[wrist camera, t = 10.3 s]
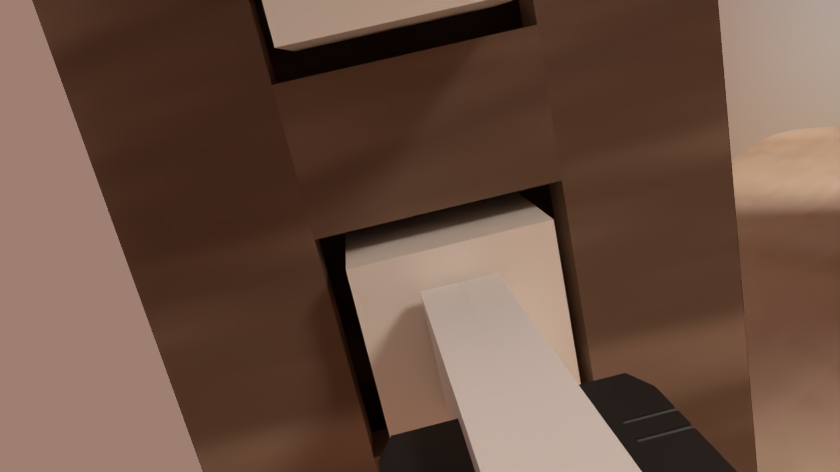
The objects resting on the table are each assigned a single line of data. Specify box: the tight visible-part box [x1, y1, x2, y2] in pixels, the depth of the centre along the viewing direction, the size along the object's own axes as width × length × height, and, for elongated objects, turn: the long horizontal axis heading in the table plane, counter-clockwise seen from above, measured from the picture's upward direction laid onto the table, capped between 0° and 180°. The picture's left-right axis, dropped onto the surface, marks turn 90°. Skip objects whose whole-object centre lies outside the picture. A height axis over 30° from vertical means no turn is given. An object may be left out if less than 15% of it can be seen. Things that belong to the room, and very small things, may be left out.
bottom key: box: [345, 191, 581, 436], centre depth 15 cm, size 4×4×4 cm
